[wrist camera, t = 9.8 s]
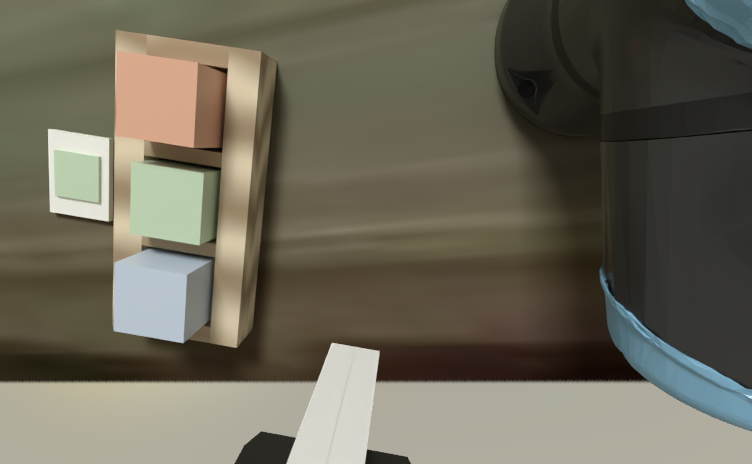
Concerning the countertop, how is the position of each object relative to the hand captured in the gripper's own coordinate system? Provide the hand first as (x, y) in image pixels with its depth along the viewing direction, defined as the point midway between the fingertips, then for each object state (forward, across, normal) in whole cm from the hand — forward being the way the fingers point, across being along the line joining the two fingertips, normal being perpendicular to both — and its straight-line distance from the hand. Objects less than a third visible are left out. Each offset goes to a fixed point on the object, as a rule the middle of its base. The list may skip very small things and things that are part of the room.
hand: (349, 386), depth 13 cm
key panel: (+26, -18, 0) cm, 32 cm away
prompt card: (+26, -30, 0) cm, 40 cm away
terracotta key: (+23, -18, +8) cm, 31 cm away
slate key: (+23, -18, -8) cm, 31 cm away
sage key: (+25, -18, 0) cm, 31 cm away
